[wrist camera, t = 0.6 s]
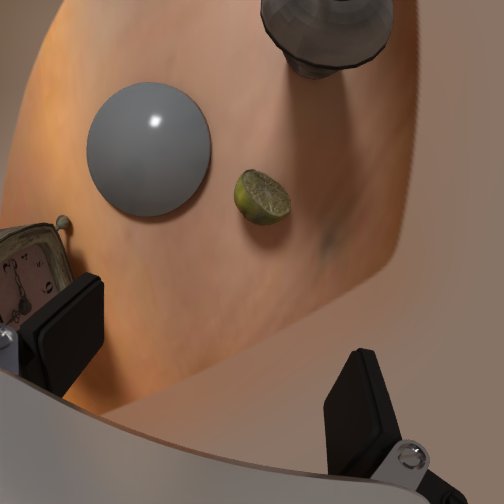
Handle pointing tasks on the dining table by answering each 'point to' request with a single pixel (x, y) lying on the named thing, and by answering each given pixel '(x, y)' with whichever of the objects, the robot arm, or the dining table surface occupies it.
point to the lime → (261, 198)
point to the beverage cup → (327, 32)
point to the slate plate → (148, 149)
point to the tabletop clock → (31, 269)
